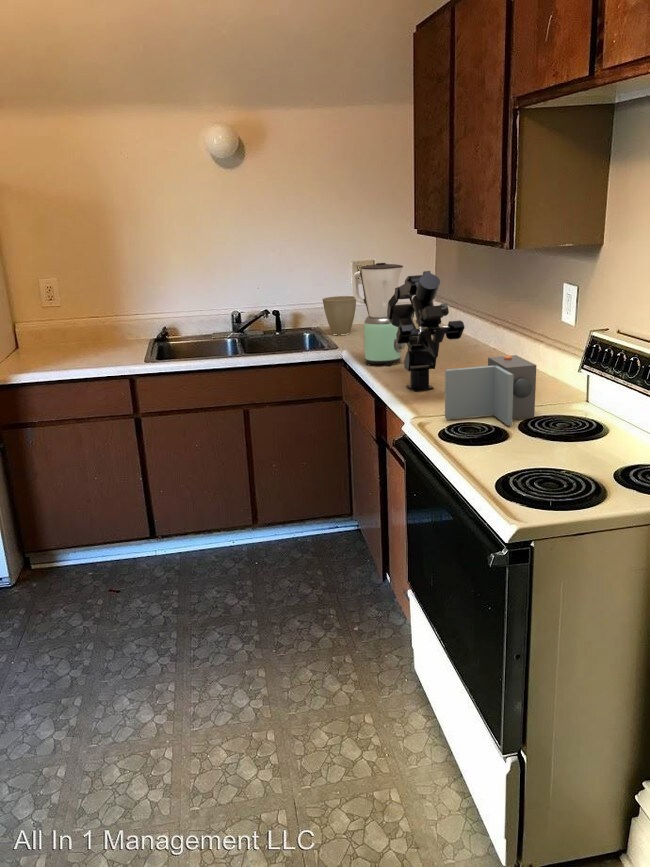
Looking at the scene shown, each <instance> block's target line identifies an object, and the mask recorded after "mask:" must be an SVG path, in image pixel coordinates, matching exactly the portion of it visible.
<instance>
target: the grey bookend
mask: <svg viewBox="0 0 650 867" xmlns="http://www.w3.org/2000/svg"><path fill="white" fill-rule="evenodd" d="M513 377H514V375H513V374H512V373H510V372H508V371H506V370H505V369H503V368H501V367H499V366H498V365H493V366H488V365H484V366H483V365H482V366H473V367H471V366H470V367H461V368H449V369H444V418H445V419H446V420H454V419H455V420H456V419H464V418H465V419H466V418H475V417H486V416H495V417H496V418H497V419H498V420H499V421H501V422H502V423H504V424H505V425H506V426H512V425H513V420H512V411H513Z"/></svg>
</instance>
